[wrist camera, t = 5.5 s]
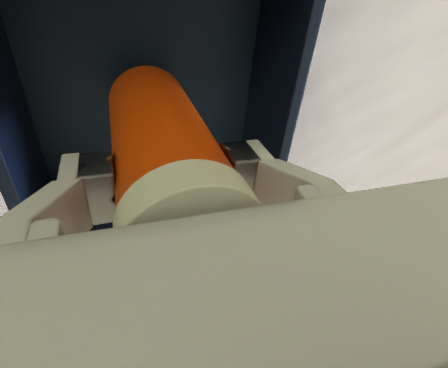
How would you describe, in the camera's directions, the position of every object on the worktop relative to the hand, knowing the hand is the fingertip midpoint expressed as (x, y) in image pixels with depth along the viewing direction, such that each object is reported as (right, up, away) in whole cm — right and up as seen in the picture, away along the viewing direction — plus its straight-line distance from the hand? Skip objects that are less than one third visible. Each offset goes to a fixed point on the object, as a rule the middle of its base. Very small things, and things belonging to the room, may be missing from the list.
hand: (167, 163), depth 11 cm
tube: (-2, +3, +5) cm, 6 cm away
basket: (-3, +5, +7) cm, 9 cm away
